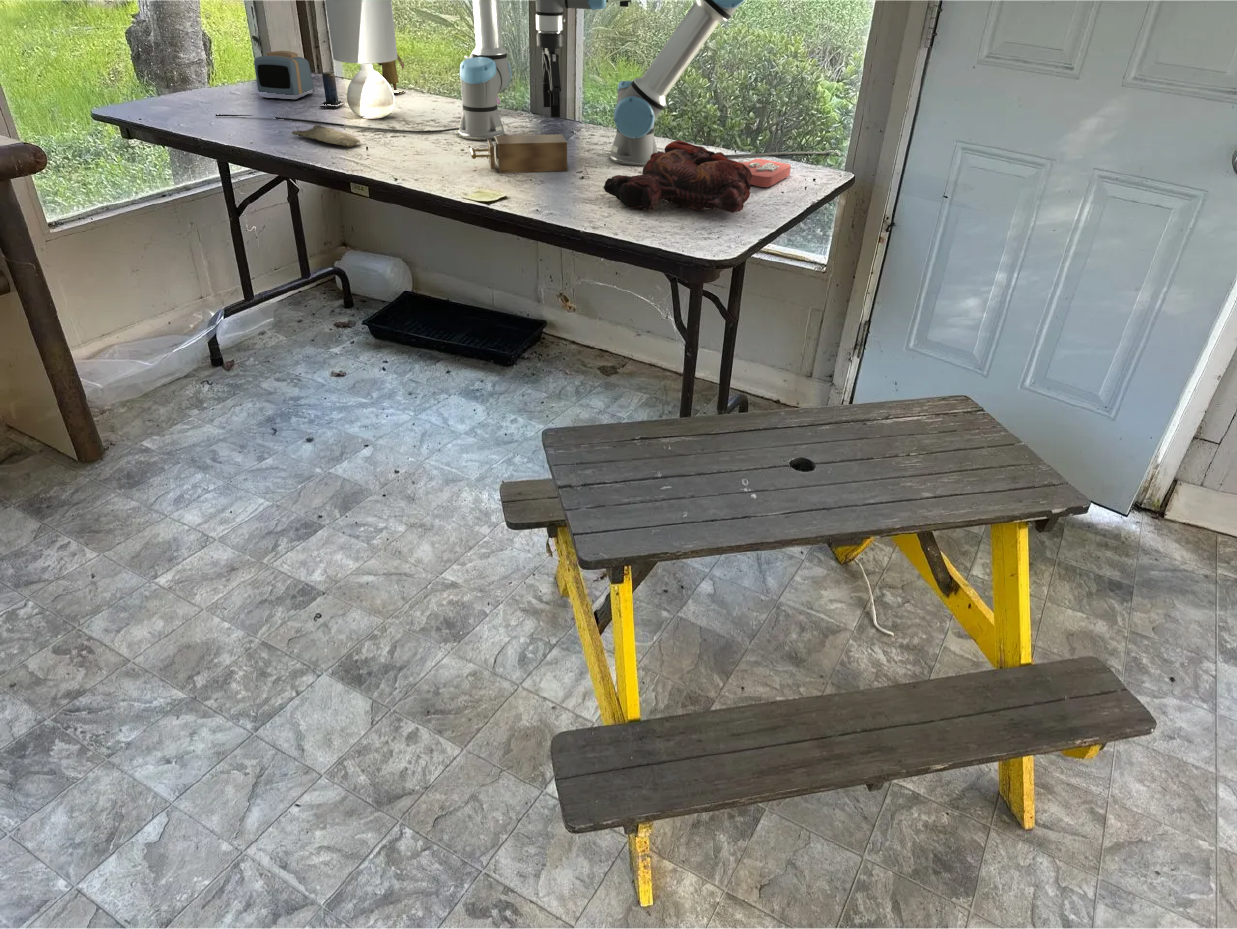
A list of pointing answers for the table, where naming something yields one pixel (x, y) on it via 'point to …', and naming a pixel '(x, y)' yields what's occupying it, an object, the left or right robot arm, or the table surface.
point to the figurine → (391, 72)
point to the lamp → (364, 51)
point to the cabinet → (531, 153)
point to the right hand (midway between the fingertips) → (551, 112)
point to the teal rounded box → (283, 73)
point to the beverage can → (330, 90)
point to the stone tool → (328, 136)
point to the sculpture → (685, 180)
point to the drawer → (490, 153)
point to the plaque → (767, 172)
